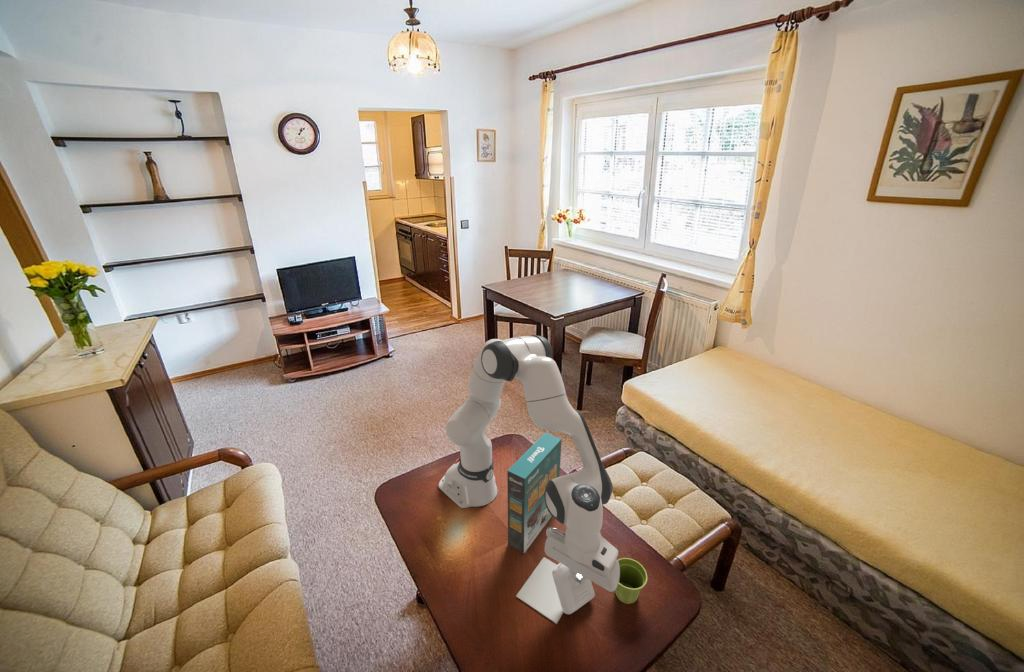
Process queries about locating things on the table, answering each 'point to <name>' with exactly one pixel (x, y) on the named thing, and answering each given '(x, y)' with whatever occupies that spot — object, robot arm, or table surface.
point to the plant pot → (630, 580)
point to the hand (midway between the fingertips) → (579, 580)
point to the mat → (542, 591)
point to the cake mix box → (531, 490)
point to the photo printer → (571, 589)
